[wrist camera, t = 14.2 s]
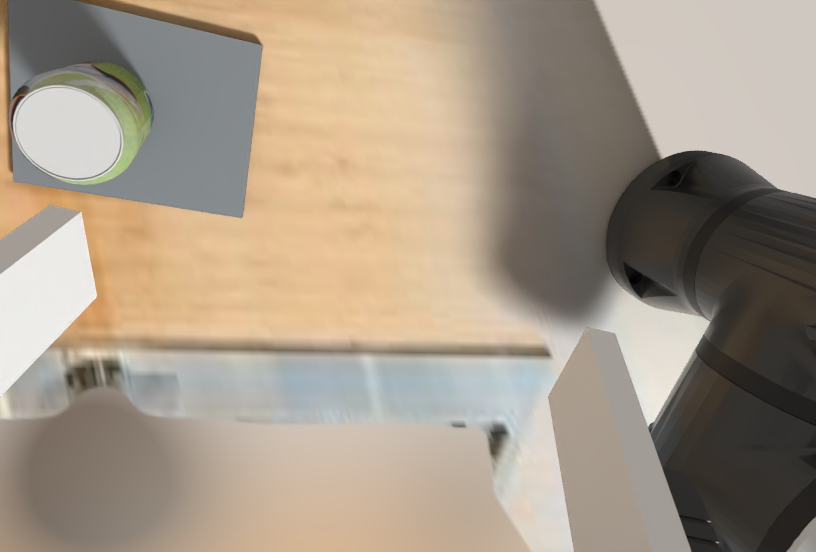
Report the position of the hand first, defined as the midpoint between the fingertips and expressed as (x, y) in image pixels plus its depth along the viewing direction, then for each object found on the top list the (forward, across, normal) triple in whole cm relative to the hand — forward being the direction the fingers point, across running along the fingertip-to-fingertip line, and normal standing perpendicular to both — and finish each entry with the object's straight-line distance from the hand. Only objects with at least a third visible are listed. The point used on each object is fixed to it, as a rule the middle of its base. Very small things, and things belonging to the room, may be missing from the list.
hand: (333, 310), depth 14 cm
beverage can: (+25, -20, -7) cm, 33 cm away
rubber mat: (+26, -19, -8) cm, 33 cm away
